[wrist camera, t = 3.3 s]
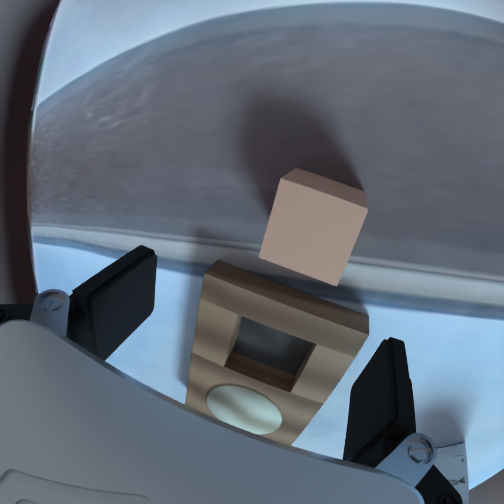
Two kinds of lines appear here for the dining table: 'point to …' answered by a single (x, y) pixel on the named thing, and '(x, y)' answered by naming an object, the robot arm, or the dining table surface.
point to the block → (314, 225)
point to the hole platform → (267, 352)
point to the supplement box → (454, 468)
